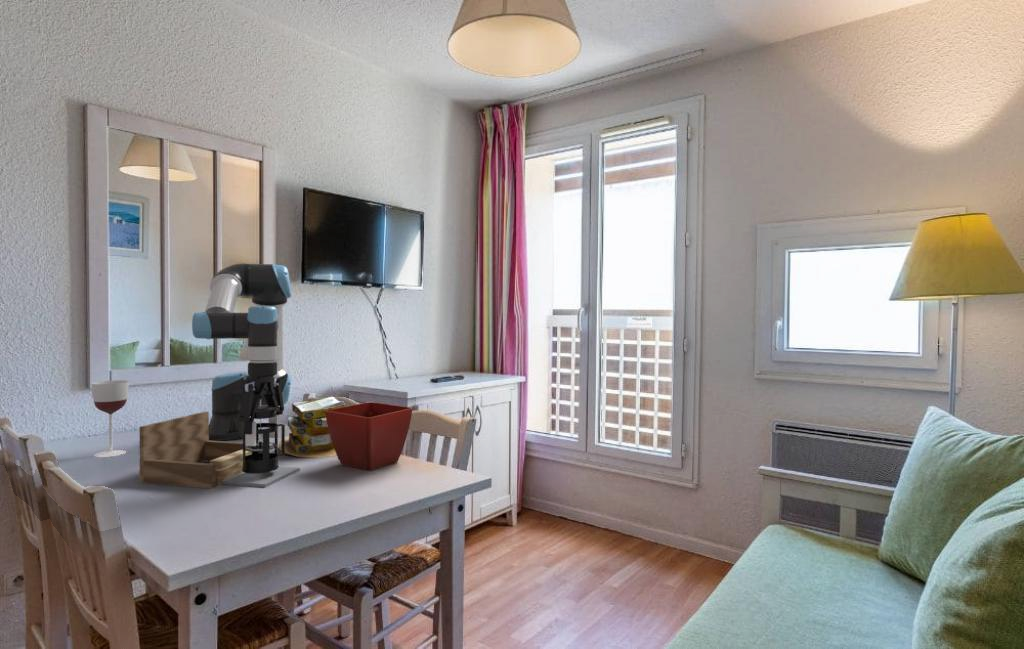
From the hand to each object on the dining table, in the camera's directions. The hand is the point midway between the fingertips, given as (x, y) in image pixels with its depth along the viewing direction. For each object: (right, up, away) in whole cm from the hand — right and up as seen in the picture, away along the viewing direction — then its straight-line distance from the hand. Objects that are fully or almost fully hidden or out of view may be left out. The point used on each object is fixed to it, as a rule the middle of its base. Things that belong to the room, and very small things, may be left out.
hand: (262, 441), depth 156 cm
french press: (0, -8, 0) cm, 8 cm away
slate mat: (0, -10, 0) cm, 10 cm away
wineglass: (-59, -9, +23) cm, 64 cm away
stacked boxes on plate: (+4, -10, +33) cm, 35 cm away
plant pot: (+26, -10, +15) cm, 32 cm away
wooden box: (-17, -10, +4) cm, 20 cm away
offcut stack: (-9, -10, +2) cm, 14 cm away
